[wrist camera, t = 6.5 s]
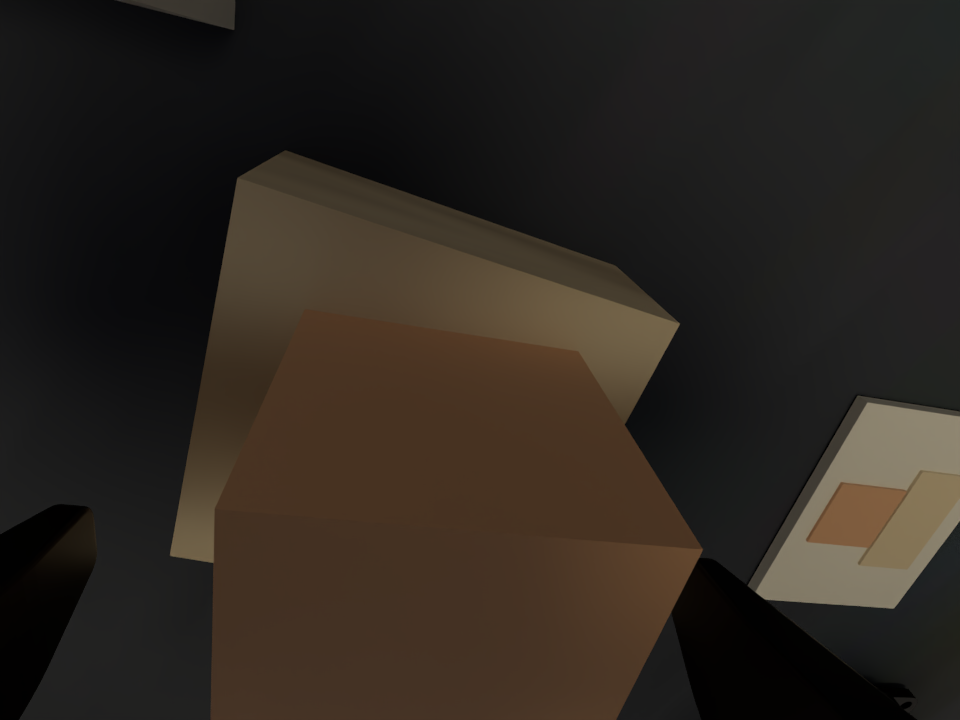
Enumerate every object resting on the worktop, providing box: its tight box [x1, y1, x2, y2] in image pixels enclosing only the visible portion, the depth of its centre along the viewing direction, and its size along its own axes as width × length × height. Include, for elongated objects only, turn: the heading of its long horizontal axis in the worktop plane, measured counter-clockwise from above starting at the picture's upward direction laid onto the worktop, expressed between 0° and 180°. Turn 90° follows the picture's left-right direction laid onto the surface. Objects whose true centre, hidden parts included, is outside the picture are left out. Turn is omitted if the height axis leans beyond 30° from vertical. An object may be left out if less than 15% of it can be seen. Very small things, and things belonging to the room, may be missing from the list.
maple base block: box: [170, 150, 680, 563], centre depth 13 cm, size 8×8×4 cm
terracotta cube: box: [211, 309, 703, 720], centre depth 9 cm, size 5×5×5 cm
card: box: [747, 396, 960, 608], centre depth 18 cm, size 8×6×1 cm
